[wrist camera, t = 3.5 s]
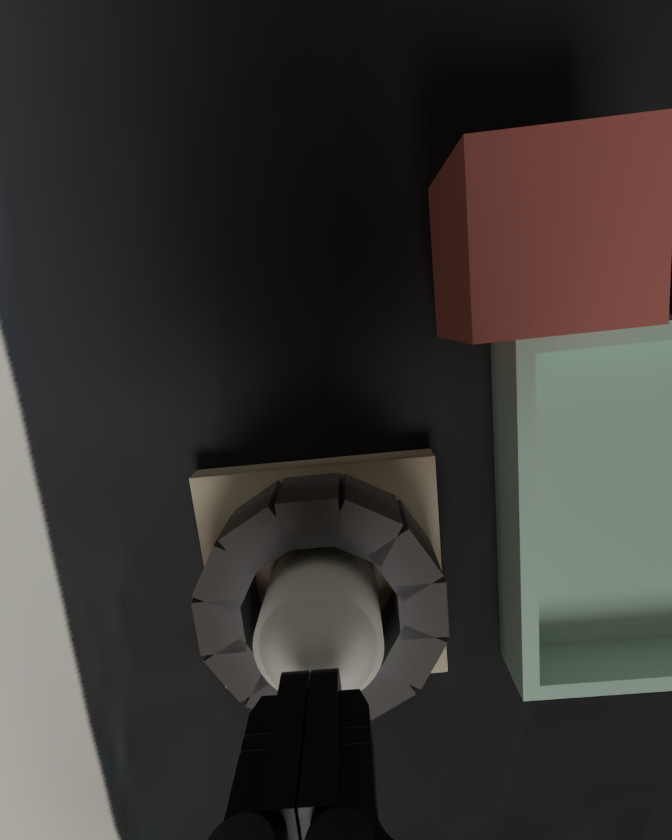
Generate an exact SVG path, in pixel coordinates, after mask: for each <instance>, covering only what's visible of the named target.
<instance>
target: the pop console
mask: <svg viewBox="0 0 672 840" xmlns="http://www.w3.org/2000/svg"><path fill="white" fill-rule="evenodd" d="M189 482H190V488H191V494H192V499H193V505H194V511H195V516H196V522H197V528H198V534H199V539H200V545H201V551H202V557H203V562H204V569H203V572H202V574H201V576H200V579H199V581H198V583H197V586H196V588H195V590H194V593H193V595H192V597H194V599H193V600H192V602H191V606H192V611H193V617H194V622H195V627H196V633H197V638H198V644H199V649H200V655H201V656H203V655H206V657H205V659H204V663H205V664H206V665H207V666H208V667H209V668H210V669H211V670H212V672H213V673H214V674H215V675H216V676H217V677H218V678H219V679H220V681H221V682H222V683H223V684H224V685H225V688H227V689H228V690H229V691H230V692H231V693H232V694H233V695H234V696H235V698H236V699H237V700H238V701H239V702H242V701H243V700H245V699H247V698H248V699H247V702H246V707H248V708H251V709H253V708H254V706H255V705H256V703H257V702H258V701H259V699H260V698H261V696H270V695H277V693H278V691H277V690H276V689H275V688H274V687H272V686H271V685H270V684H269V683H268V682H267V681H266V679H265V678H264V677H263V675H262V674H261V672H260V670H259V669H258V667H257V664H256V662H255V658H254V654H253V636H254V631H255V628H256V624H257V621H258V617H259V614H260V610H261V607H262V603H263V600H264V596H265V593H266V589H267V586H268V582H269V579H270V576H271V573H272V571H273V569H274V567H275V565H276V564H277V563H278V561H279V560H280V559H281V558H282V557H283V556H284V555H285V554H286V553H288V552H289V551H290V550H295V549H307V548H318V547H330V546H334V547H336V548H339V549H341V550H344V551H346V552H348V553H351V554H353V555H355V556H358V557H360V558H363V559H365V561H366V562H367V563H368V564H369V566H370V567H371V569H372V571H373V573H374V575H375V578H376V582H377V588H378V596H379V604H380V613H381V621H382V629H383V637H384V656H383V661H382V664H381V667H380V669H379V671H378V673H377V674H376V676H375V678H374V679H373V680H372V681H371V682H370V684H369V685H368V686H366V687H365V688H364V689H363V690H362V691H361V692H362V694H363V695H364V697H365V699H366V701H367V702H368V704H369V710H370V720H373V719H375V718H376V717H378V716H380V715H381V714H383V713H385V712H387V711H388V710H390V709H392V708H393V707H395V706H397V705H399V704H400V703H402V702H404V701H405V700H407V699H409V698H411V697H412V696H414V695H416V690H415V687H416V688H419V689H422V687H423V685H424V683H425V682H426V680H427V678H428V676H429V675H430V673H438V672H448V667H447V650H446V645H447V643H448V642H447V639H446V637H449V622H448V605H447V588H446V581H445V578H444V575H443V573H442V566H441V549H440V532H439V516H438V499H437V482H436V465H435V455H434V454H433V452H432V451H431V449H419V450H408V451H397V452H386V453H375V454H364V455H354V456H343V457H332V458H321V459H310V460H299V461H288V462H278V463H267V464H256V465H245V466H234V467H223V468H212V469H201V470H197V471H196V472H195V473H194V474H193V475H192V476H191V477H190V478H189Z"/></svg>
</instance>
